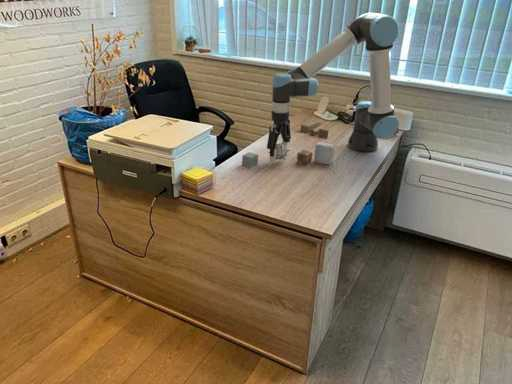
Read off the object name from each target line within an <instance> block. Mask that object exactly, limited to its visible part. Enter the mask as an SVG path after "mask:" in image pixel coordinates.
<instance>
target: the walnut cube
mask: <svg viewBox="0 0 512 384" xmlns="http://www.w3.org/2000/svg"><path fill="white" fill-rule="evenodd" d="M296 156H297V157H296V164H299V165H304V166H308V165H309V164H312V160H313V159H312V158H313V151H309V150H305V149H302V150H300V151H298V152H297V154H296Z"/></svg>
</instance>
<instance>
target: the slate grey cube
mask: <svg viewBox="0 0 512 384" xmlns="http://www.w3.org/2000/svg"><path fill="white" fill-rule="evenodd" d="M241 156H242V159H241V160H242V163H241V165H242V167H246V168H250V169H253V168H255V167H256V166H258V165H259V164H258V163H259V154H257V153H253V152H250V151H249V152H247V153H244V154H243V155H241Z"/></svg>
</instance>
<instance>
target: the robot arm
mask: <svg viewBox="0 0 512 384" xmlns="http://www.w3.org/2000/svg"><path fill="white" fill-rule="evenodd" d="M399 32H400V27H399V23H398V22H397V19H395V18H394V17H392V16H391V15H388V14H384V13H378V12H374V11H373V12H372V11H371V12H366V13H364V14H361V15H359V16H358V17H356V18H355V19H354V20H353V21H351V22H350V23H348V24H347V25H346V26H345V27H343V31H342V32H340V33H339V34H338V35H337V36H336V37H334V38H333V39H331V40H330V41H329V42H328V43H327V44H324V46H322V48H320V49H319V50H318V51H316V52H315V53H314V54H313V55H311V57H309V58H308V59H306V60H305V61H304V62H302V64H300V65H299V66H297V67H296V68H295V69H291V70H288V71H286V72H285V73H282V72H281V73H275V74H274V76H273V78H272V79H273V80H272V86H271V87H272V99H271V105H272V106H271V120H272V121H273V125H272V126H271V125H270V126H269V131H268V138H267V144H266V149H267V150H269V152H270V153H269V163H272V164H276V161H277V160H276V149H275V147H276V144H278V140H279V136H280V135H281V139H282V141H281V143H282V142H284V143H283V144H284V146H285V147H286V149H287V150H288V146H289V145H288V143H290V142H291V138H292V136H291V135H292V134H291V125H290V124H291V120H290V105H291V103H290V102H291V98H294V97H295V98H297V97H302V98H303V97H314V96H316V95H317V94H318V91H319V82H318V80H317V78H314V76H316V75H317V74H318V73H319V72H321V71H323V69H324V68H326V67H328V66H329V64H331V63H332V62H334V61H335V60H336V59H338V58H339V57H340V56H341V55H343V54H344V53H345V52H346V51H348V50H350V48H352V47H354V46H355V47H357V46H358V45H360V44H361V43H363V42H365V51H366V52H367V53H369V80H370V81H369V82H370V101H369V100H367V101H366V100H363V101H359V102H358V103H357V104H356V107H355V113H354V121H353V127H352V132H351V134H350V135H349V138H348V140H347V147H349V149H352V150H354V151H358V152H365V153H368V152H374V151H376V150H378V148H379V139H382V140H386V139H389V138H391V137H392V136H394V135H395V133H396V132H397V131H398V128H399V125H400V124H399V123H400V121H399V119H398V118H397V117H396V116H395V107H394V105H393V104H391V102H392V101H391V100H392V99H391V51H392V50H393V49H394V47H395V42H396V40H397V38H398V36H399V34H400V33H399ZM378 138H379V139H378ZM287 156H288V153H287V154H286V156H285V157H287Z"/></svg>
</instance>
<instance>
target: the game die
mask: <svg viewBox="0 0 512 384" xmlns="http://www.w3.org/2000/svg"><path fill="white" fill-rule="evenodd" d="M283 143H284V141H283V142H282V141H281V143H276V147H275V149H276V161H277V160H278V161H279V160H284V161H286V157H287V156H286V154H287V155H288V152H290V150H289V149H288V148H287V149H286V147H285V146H284V144H283ZM267 153H268V154H270V151H268V152H267Z"/></svg>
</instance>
